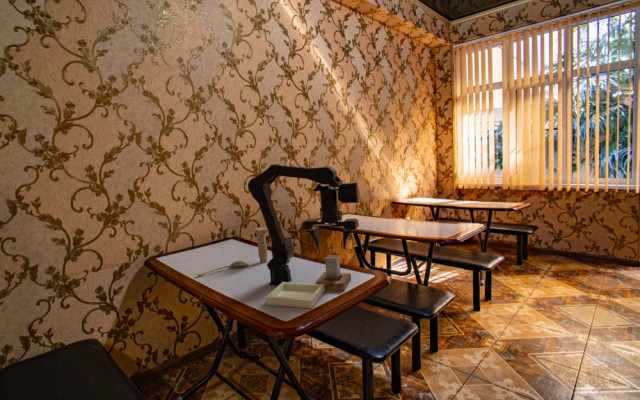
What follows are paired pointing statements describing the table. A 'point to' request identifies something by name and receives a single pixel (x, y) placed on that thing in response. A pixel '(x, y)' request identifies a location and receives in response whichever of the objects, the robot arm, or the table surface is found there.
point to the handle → (262, 244)
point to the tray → (295, 295)
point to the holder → (335, 282)
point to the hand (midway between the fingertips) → (331, 248)
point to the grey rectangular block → (332, 267)
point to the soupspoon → (237, 263)
